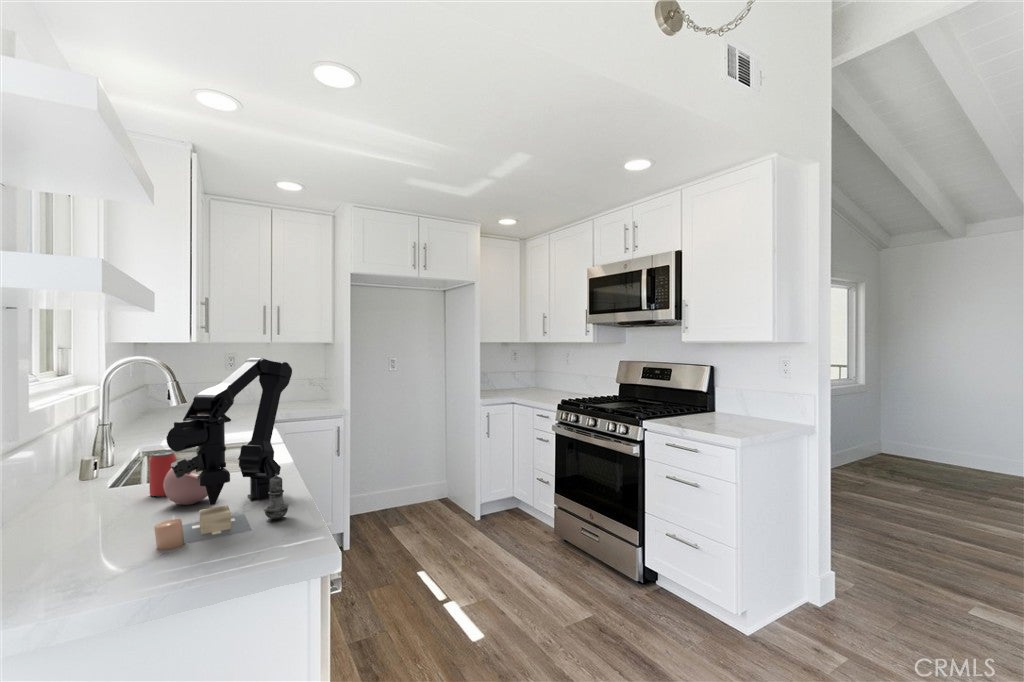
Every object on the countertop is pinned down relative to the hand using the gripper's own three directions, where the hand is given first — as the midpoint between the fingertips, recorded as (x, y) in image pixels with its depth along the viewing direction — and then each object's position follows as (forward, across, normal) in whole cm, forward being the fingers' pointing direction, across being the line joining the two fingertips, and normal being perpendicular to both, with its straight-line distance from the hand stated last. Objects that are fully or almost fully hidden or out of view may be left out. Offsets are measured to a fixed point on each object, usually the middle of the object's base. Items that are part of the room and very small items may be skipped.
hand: (212, 504), depth 128 cm
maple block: (+3, +8, 0) cm, 9 cm away
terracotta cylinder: (+4, +14, -9) cm, 17 cm away
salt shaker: (+4, +11, +13) cm, 17 cm away
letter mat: (+4, +8, 0) cm, 9 cm away
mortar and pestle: (+4, -18, -4) cm, 19 cm away
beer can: (+4, -33, -10) cm, 35 cm away
